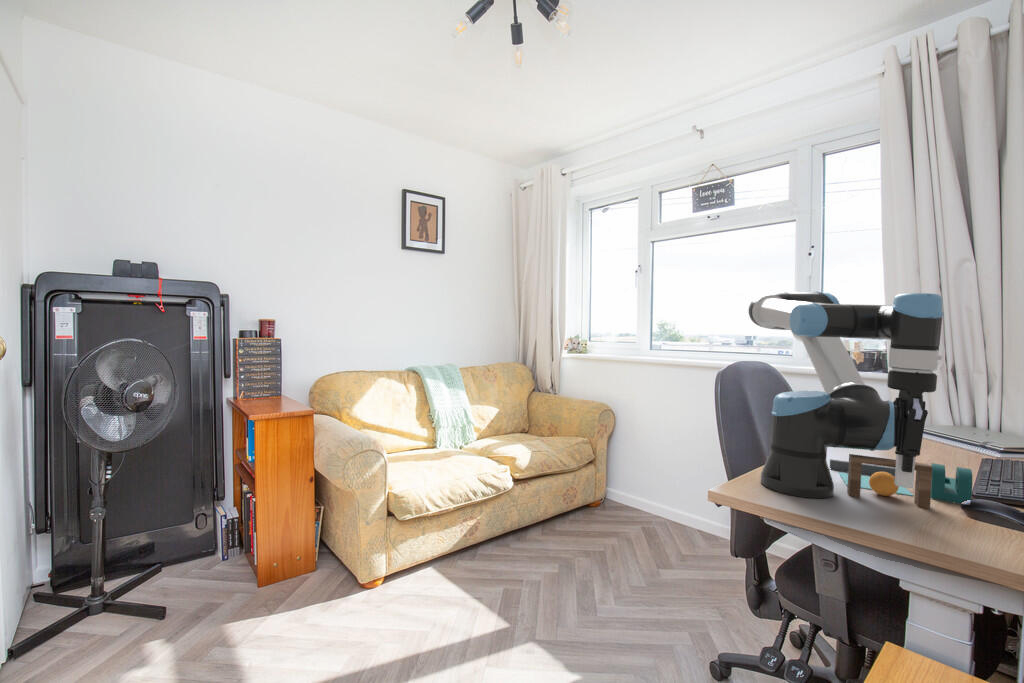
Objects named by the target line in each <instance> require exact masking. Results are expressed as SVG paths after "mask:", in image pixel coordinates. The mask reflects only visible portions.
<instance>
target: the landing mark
mask: <svg viewBox="0 0 1024 683" xmlns="http://www.w3.org/2000/svg"><path fill="white" fill-rule="evenodd" d="M837 473H838V474H840V475H839V476H840V478H841V479H842V481H843V482H844V485H846V487H847V486H848V472H847V473H846V472H842V471H838V472H837ZM870 477H871V476H870V475H869V476H867V475H863V474H861V487H860V489H864V490H871V491H873V490H872V489H871V487H870V484H869V479H870ZM895 494H897V495H898V494H899V495H903V496H911V497H914V494H913V493H911V491H910V490H909V489H907V488H906V487H900V486H899V488H898V490H897V492H896V493H895Z"/></svg>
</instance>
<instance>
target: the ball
mask: <svg viewBox="0 0 1024 683" xmlns="http://www.w3.org/2000/svg"><path fill="white" fill-rule="evenodd" d="M869 477H870V479H869V484H870V487H871V489H872V490H871V491H873V492H874V493H876V494H877V495H880V496H883V497H889V496H893V495H894V494H896V492H897V490H898V488H899V486H896V485H895V484H894V481H895V477H894V476H893V475H891V474H889V473H887V472H876V473H874V474H872V475H870V476H869Z"/></svg>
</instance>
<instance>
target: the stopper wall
mask: <svg viewBox="0 0 1024 683" xmlns="http://www.w3.org/2000/svg"><path fill="white" fill-rule="evenodd" d="M829 467H830V468H831V469H830V468H829V469H830V470H833V469H837V470H836V471H840V470H843V471H842V472H847V471H848V468H849V460H848V461H847V460H840V459H832V458H830V459H829ZM876 472H887V473H889V474H891V475H893V476H894V477H895V467H887V466H879V465H872V464H864V463H862V470H861V475H869V476H871V475H872V474H874V473H876Z"/></svg>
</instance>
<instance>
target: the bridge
mask: <svg viewBox="0 0 1024 683" xmlns="http://www.w3.org/2000/svg"><path fill="white" fill-rule="evenodd" d="M848 462H849V468H848V472H847V473H848V486H846V487H847V488H846V489H847V490H846V492H847V495H848V496H849V497H854V498H860V497H861V488H860V487H861V475H862V474H861V470H862V463H863V464H871V465H878V466H886V467H893V468H896V459H893V458H886V457H885V458H884V457H877V456H876V457H875V456H868V455H861V454H852V453H849V454H848ZM914 482H915V483H914V485H915V486H914V496H913V497H914V500H913V501H914V502H913V503H914V504H915V505H916V506H917V507H918V508H922V507H923V508H922V509H928V508H930V509H931V500H932V499H931V483H932V466H931V464H929V463H923V462H916V461H915V479H914Z"/></svg>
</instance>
